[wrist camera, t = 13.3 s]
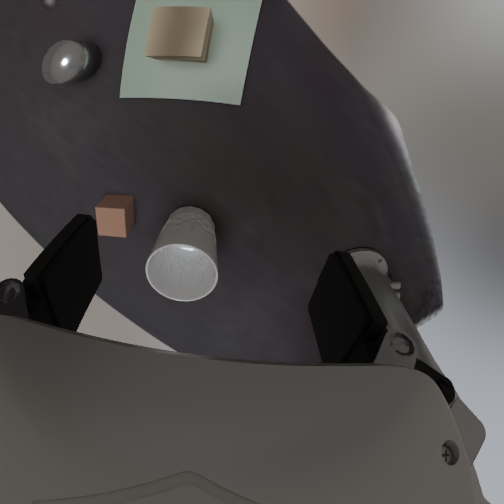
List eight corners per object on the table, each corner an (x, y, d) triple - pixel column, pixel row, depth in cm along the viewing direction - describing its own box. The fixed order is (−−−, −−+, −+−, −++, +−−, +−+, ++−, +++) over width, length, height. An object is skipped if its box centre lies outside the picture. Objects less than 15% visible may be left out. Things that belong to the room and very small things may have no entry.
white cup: (176, 191, 34) (160, 231, 26) (229, 217, 37) (231, 263, 28) (153, 238, 37) (136, 285, 29) (203, 259, 40) (199, 310, 32)
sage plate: (261, -1, 21) (263, -4, 20) (239, 104, 28) (240, 105, 27) (141, -7, 18) (138, -9, 17) (122, 97, 26) (119, 97, 25)
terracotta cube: (133, 195, 33) (124, 209, 30) (134, 222, 36) (126, 237, 32) (106, 194, 33) (95, 207, 30) (108, 220, 35) (98, 234, 32)
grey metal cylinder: (104, 41, 21) (81, 36, 16) (99, 78, 24) (75, 80, 19) (70, 46, 20) (44, 44, 15) (66, 82, 23) (40, 86, 18)
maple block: (214, 23, 21) (210, 7, 16) (206, 62, 24) (200, 56, 18) (168, 21, 21) (153, 6, 15) (161, 61, 23) (144, 56, 18)
